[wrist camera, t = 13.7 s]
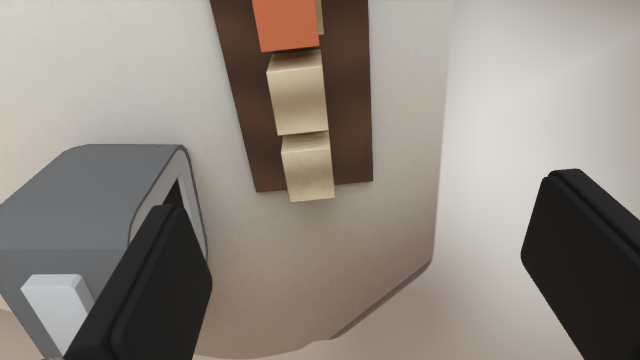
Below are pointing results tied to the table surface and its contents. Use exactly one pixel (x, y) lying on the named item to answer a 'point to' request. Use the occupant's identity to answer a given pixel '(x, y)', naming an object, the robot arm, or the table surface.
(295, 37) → the terracotta orange cube
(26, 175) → the table surface
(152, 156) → the alarm clock
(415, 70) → the table surface
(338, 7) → the word board
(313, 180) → the beige wooden cube
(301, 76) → the cream wooden block
